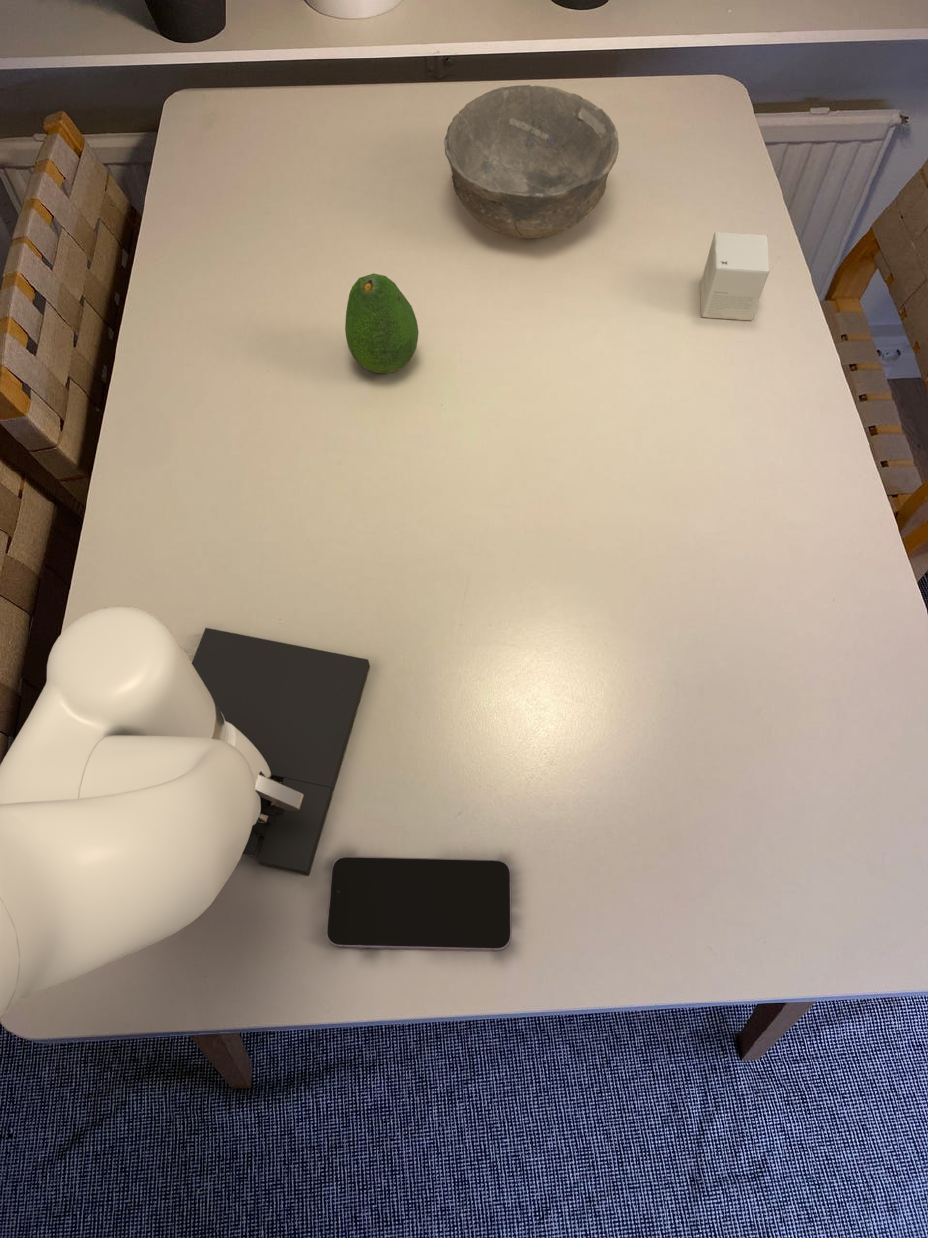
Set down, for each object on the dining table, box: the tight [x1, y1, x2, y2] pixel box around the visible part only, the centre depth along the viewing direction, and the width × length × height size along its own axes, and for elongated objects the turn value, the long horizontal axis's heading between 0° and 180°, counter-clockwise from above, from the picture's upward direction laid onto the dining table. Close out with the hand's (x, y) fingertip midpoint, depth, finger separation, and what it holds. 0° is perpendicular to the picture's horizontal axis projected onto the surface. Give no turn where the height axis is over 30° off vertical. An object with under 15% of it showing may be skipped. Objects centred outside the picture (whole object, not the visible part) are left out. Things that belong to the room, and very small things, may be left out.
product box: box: [699, 231, 771, 321], centre depth 106 cm, size 6×6×7 cm
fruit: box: [344, 272, 419, 374], centre depth 99 cm, size 8×8×12 cm
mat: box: [191, 627, 371, 876], centre depth 82 cm, size 20×16×2 cm
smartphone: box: [325, 855, 512, 952], centre depth 76 cm, size 7×1×15 cm
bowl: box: [443, 84, 620, 239], centre depth 112 cm, size 21×21×10 cm
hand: (227, 809), depth 78 cm, fingers closed on pad piece, 6 cm apart
